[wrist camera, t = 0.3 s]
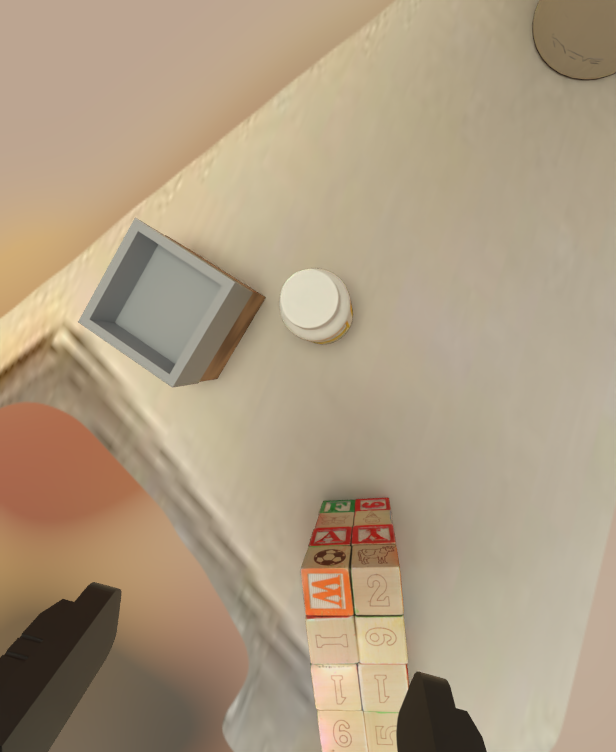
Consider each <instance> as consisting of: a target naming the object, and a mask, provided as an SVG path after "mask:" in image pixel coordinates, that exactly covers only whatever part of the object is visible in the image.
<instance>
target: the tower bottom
mask: <svg viewBox="0 0 616 752" xmlns="http://www.w3.org/2000/svg"><path fill="white" fill-rule="evenodd" d="M165 236H166V235H165ZM167 237H168V236H167ZM168 238H169V237H168ZM170 239H171V238H170ZM171 240H173V239H171ZM173 241H174V240H173ZM174 242H176V241H174ZM176 243H178V242H176ZM178 244H179V243H178ZM179 245H181V244H179ZM181 246H182V247H184V246H183V245H181ZM184 248H185V249H187V250H188V251H190V252H191V253H193V254H194V255H196V256H198V257H199V258H201V259H202V260H204V261H205V262H207V263H208V264H210V265H211V266H213V267H215V268H216V269H218V270H219V271H221V272H222V273H224V274H225V275H227V276H228V277H230V278H231V279H233V280H235V281H236V282H238V283H239V284H241V285H242V286H244V287H245V288H247V289H248V290H250V291H252V292H253V293H252V295H251V297H250V298H249V300H248V302H247V303H246V305H245V307H244V308H243V310H242V312H241V313H240V315H239V317H238V318H237V320H236V322H235V323H234V325H233V327H232V328H231V330H230V331H229V333H228V335H227V336H226V338H225V340H224V341H223V343H222V345H221V346H220V348H219V350H218V351H217V353H216V355H215V356H214V358H213V360H212V361H211V363H210V364H209V366H208V368H207V369H206V371H205V373H204V374H203V376H202V378H201V379H200V381H206V380H213V379H217V378H218V377H219V375H220V373H221V372H222V370H223V368H224V367H225V365H226V363H227V361H228V360H229V358H230V356H231V355H232V353H233V351H234V350H235V348H236V346H237V345H238V343H239V341H240V340H241V338H242V336H243V335H244V333H245V331H246V330H247V328H248V326H249V325H250V323H251V321H252V320H253V318H254V316H255V315H256V313H257V311H258V309H259V308H260V306H261V304H262V303H263V301H264V299H265V297H264V296H262V295H261V294H259V293H258V292H256V291H254V290H253V289H251V288H250V287H248V286H246V285H245V284H243V283H242V282H240V281H239V280H237V279H235V278H234V277H232V276H231V275H229V274H227V273H226V272H224V271H223V270H221V269H219V268H218V267H216V266H215V265H213V264H212V263H210V262H208V261H207V260H205V259H204V258H202V257H200V256H199V255H197V254H196V253H194V252H193V251H191V250H189V249H188V248H186V247H184ZM200 381H199V382H200Z"/></svg>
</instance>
